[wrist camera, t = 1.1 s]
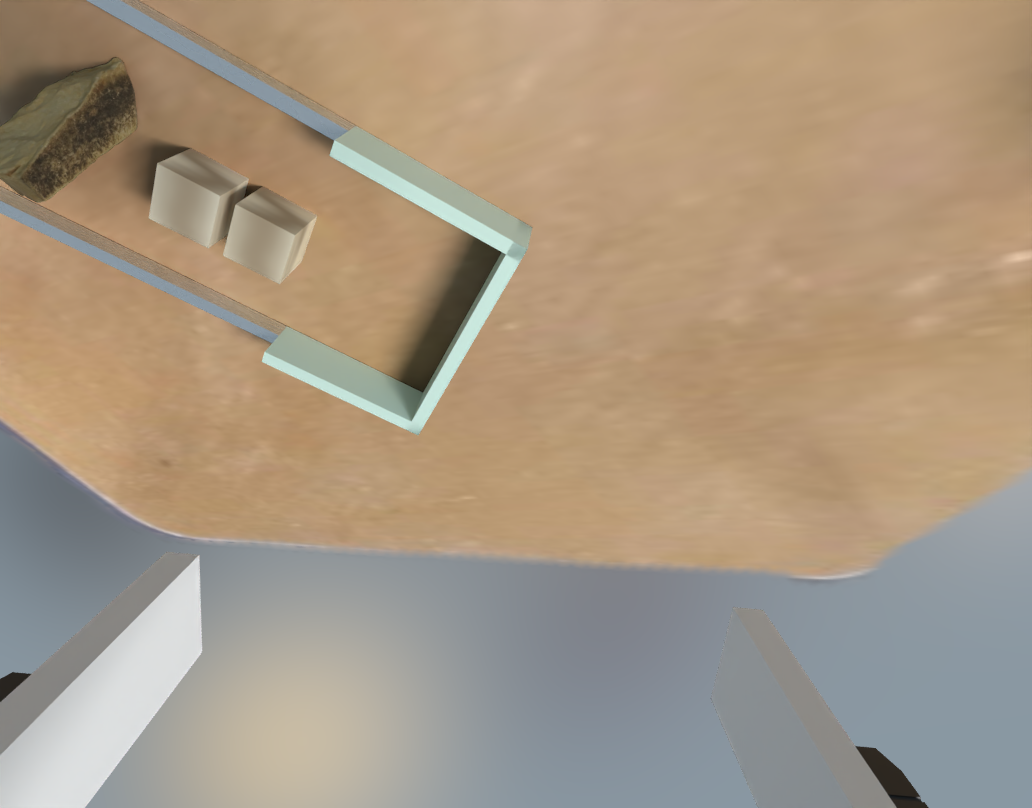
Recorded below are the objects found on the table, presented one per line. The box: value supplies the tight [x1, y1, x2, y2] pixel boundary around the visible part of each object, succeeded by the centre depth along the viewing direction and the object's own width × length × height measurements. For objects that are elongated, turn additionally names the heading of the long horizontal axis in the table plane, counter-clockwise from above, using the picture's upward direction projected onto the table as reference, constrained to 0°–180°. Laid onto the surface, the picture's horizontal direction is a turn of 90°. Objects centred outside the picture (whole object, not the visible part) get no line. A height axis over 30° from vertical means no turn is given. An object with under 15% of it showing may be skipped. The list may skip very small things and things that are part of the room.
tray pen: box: [262, 126, 532, 435], centre depth 43 cm, size 13×18×4 cm
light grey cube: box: [149, 148, 249, 248], centre depth 40 cm, size 4×4×4 cm
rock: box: [0, 58, 137, 202], centre depth 37 cm, size 10×8×10 cm
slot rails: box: [0, 0, 356, 343], centre depth 40 cm, size 24×18×2 cm
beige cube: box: [223, 187, 317, 284], centre depth 41 cm, size 4×4×4 cm
